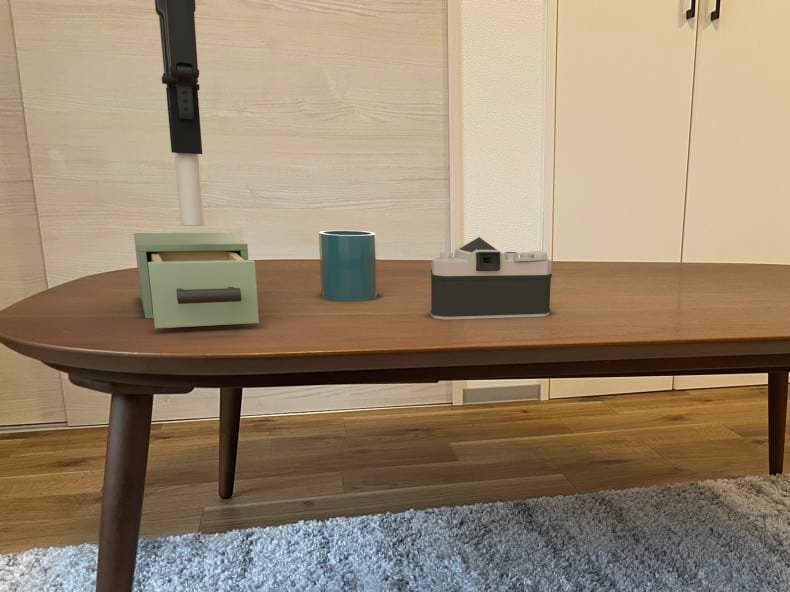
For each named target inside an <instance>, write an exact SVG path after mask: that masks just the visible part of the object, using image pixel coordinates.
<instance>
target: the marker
mask: <svg viewBox="0 0 790 592" xmlns="http://www.w3.org/2000/svg"><path fill="white" fill-rule="evenodd" d="M168 93H169V92H168ZM169 105H170V103H169ZM170 117H171V114H170ZM200 160H201V159H200V154H188V153H174V163H175V174H176V187H177V188H176V189H177V198H178V210H179V212H178V213H179V223H180V224H179V225H180V226H185V227H202V226H205V214H204V213H205V212H204V202H203V188H202V187H203V186H202V175H201V174H202V173H201V162H200Z"/></svg>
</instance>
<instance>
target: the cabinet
mask: <svg viewBox="0 0 790 592" xmlns="http://www.w3.org/2000/svg"><path fill="white" fill-rule="evenodd" d="M133 238H134V247H135V257H136V265H137V266H136V267H137V274H138V283H139V293H140V300H141V305H142V310H143V313H144V317H145V319H154V316H153V307H152V298H151V288H150V279H149V270H148V262H151V255H150V252H166V251H234V252H235V253H236V254H238V255H239V256H240V257H241V258H242V259H244V260H249V251H248V250H249V249H248V248H249V247H248V243H246V242H245V241H243V240H242V239H241V238H239V237H238V236H237V235H235V234H234V233H232V232H133Z"/></svg>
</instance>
